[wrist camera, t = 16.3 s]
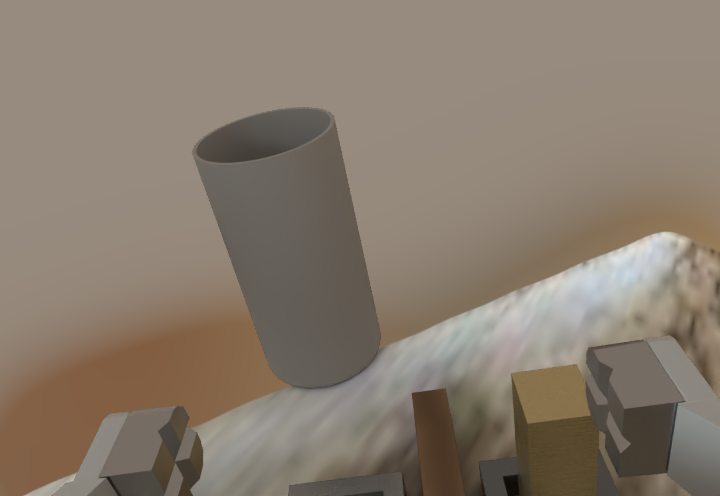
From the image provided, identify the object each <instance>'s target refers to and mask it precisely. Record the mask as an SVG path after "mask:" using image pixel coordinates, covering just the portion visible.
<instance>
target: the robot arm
mask: <svg viewBox="0 0 720 496" xmlns="http://www.w3.org/2000/svg"><path fill="white" fill-rule="evenodd" d="M586 364H587V366H588V368H589V370H590V372H591V374H590V375H589V376H588V377H587V379H586V380H585V382H586V398H587V403H588V408H589V411H590V414H591V417H592V419H593V422H594V424H595V426H596V428H597V429H598V430H600V431H601V432H603V433H604V434H606V438H605V448H606V451H607V453H608V455H609V457H610V459H611V461H612V463H613V466H614V468H615V470H616V472H617V474H618V476H619V477H629V476H640V475H651V474H662V473H667V476H669V477H670V478H671V479H672V480H674V481H675V482H676V483H677V484H679V485H680V486H681V487H682V488H683V489H685V490H686V491H687V492H688V493H690V494H691V495H692V496H720V398H718V397H717V395H716V394H715V393H714V391H713V390H712V388H711V387H710V386H709V384H708V383H707V382H706V380H705V379H704V378H703V376H702V375H701V374H700V372H699V371H698V369H697V368H696V367H695V365H694V364H693V363H692V361H691V360H690V359H689V357H688V356H687V355H686V353H685V352H684V350H683V349H682V348H681V346H680V345H679V344H678V342H677V341H676V340H675V338H673V337H671V336H670V335H668V336H661V337H655V338H648V339H642V340H636V341H629V342H623V343H616V344H609V345H603V346H596V347H589V348H588V350H587V353H586ZM188 421H189V416H188V414H187V412H186V410H185V409H184V407H183V406H170V407H161V408H153V409H144V410H135V411H131V412H122V413H113V414H109V416H107V417H106V418H105V419H104V420H103V422H102V424H101V426H100V428H99V430H98V432H97V434H96V436H95V438H94V441H93V442H92V445H91V447H90V448H89V451H88V453H87V455H86V457H85V459H84V461H83V463H82V465H81V467H80V469H79V471H78V473H77V475H76V477H75V479H74V481H73V482H69V483H65V484H64V485H63V486H62V487H61V488H60V489H59V490H57V491H56V492H55V493H54V494H53V495H52V496H193V495H192V493H191V491H190V489H191V488H192V486H193V485H194V484H195V483H196V482H197V481H198V480H199V479H200V475H201V471H202V467H203V449H202V444H201V440H200V438H199V436H198V434H197V432H195V431H194V430H192V429H190V428H189V427H187V424H188Z"/></svg>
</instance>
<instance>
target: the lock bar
mask: <svg viewBox="0 0 720 496" xmlns="http://www.w3.org/2000/svg"><path fill="white" fill-rule="evenodd" d="M511 377H512V393H513V408H514V424H515V439H516V455H517V470H518V486H519V496H596V487H597V466H598V446H599V430H598V429H597V428H596V426H595V424H594V422H593V419H592V417H591V414H590V411H589V408H588V403H587V398H586V383H585V381H584V379H583V377H582V375H581V373H580V371H579V369H578V366H577V364H576V365H568V366H561V367H554V368H546V369H539V370H532V371H524V372H517V373H511Z"/></svg>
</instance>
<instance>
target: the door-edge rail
mask: <svg viewBox="0 0 720 496" xmlns="http://www.w3.org/2000/svg"><path fill="white" fill-rule="evenodd" d="M412 399H413V408H414V417H415V426H416V434H417V443H418V452H419V461H420V470H421V479H422V488H423V496H465V492H464V486H463V481H462V475H461V470H460V464H459V459H458V453H457V448H456V442H455V437H454V431H453V426H452V420H451V415H450V409H449V404H448V399H447V393H446V389H438V390H431V391H424V392H416V393H412Z"/></svg>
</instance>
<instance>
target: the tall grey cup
mask: <svg viewBox="0 0 720 496" xmlns="http://www.w3.org/2000/svg"><path fill="white" fill-rule="evenodd" d="M192 154H193V156H194V160H195V162H196V165H197V167H198V170H199V173H200V176H201V179H202V182H203V184H204V187H205V190H206V193H207V196H208V198H209V201H210V204H211V207H212V209H213V212H214V215H215V218H216V220H217V223H218V226H219V229H220V231H221V234H222V237H223V240H224V243H225V245H226V248H227V251H228V254H229V257H230V259H231V262H232V265H233V268H234V270H235V273H236V276H237V279H238V282H239V284H240V287H241V290H242V293H243V295H244V298H245V301H246V304H247V306H248V309H249V312H250V315H251V318H252V320H253V323H254V326H255V329H256V331H257V334H258V337H259V340H260V342H261V345H262V348H263V351H264V354H265V356H266V359H267V362H268V364H269V367H270V369H271V370H272V372H273V373H274V374H275V375H276V376H277V377H278V378H279V379H281V380H282V381H284V382H286V383H288V384H290V385H293V386H297V387H303V388H321V387H327V386H331V385H335V384H338V383H341V382H343V381H345V380H347V379H349V378H351V377H353V376H355V375H356V374H358V373H359V372H360V371H362V370H363V369H364V368H365V367H366V366H367V365H368V364H369V363H370V362H371V361H372V359H373V358H374V356H375V355H376V353H377V351H378V348H379V345H380V338H381V337H380V336H381V334H380V328H379V324H378V319H377V315H376V310H375V305H374V300H373V296H372V291H371V287H370V282H369V277H368V273H367V268H366V263H365V259H364V254H363V249H362V245H361V240H360V235H359V231H358V226H357V221H356V217H355V212H354V207H353V203H352V199H351V194H350V189H349V184H348V180H347V175H346V170H345V165H344V161H343V156H342V151H341V147H340V142H339V138H338V133H337V128H336V124H335V119H334V116H333V115H332V114H331V113H330V112H328V111H326V110H323V109H318V108H309V107H298V108H286V109H279V110H273V111H268V112H263V113H260V114H255V115H252V116H248V117H245V118H242V119H239V120H236V121H234V122H231V123H229V124H226V125H224V126H222V127H220V128H218V129H216V130H214V131H212V132H210V133H209V134H207V135H206V136H204V137H203V138H202V139H201V140H199V141H198V143H197V144H196V145H195V146H194V148H193V151H192Z"/></svg>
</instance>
